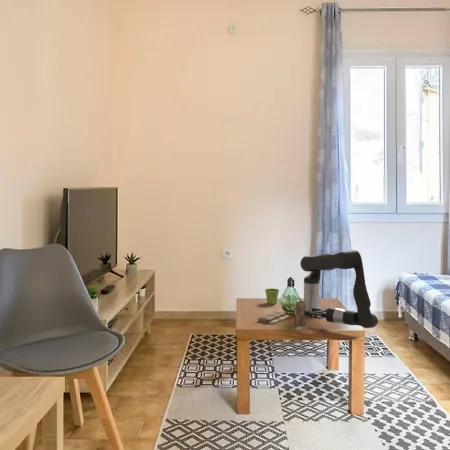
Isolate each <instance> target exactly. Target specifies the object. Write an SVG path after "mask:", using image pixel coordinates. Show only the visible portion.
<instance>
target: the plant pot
mask: <svg viewBox="0 0 450 450" xmlns="http://www.w3.org/2000/svg"><path fill="white" fill-rule="evenodd" d="M264 291H265V295H266V303H267V304H268V305H271V304H272V305H276V304H277V302H278V296H279V292H280V289H278V288H266V289H265V288H264Z"/></svg>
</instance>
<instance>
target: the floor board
mask: <svg viewBox="0 0 450 450" xmlns="http://www.w3.org/2000/svg"><path fill="white" fill-rule="evenodd" d="M289 318H290V315H287V314H286V313H285V312H280V311H273V312H270V313H268V314H264V315H262V316H260V317H258V318H257V322H258V323H263V324H264V323H265V324H269V325H270V324H271V325H274V324H276V323H279V322H281V321H284V320H286V319H289Z"/></svg>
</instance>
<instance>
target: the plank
mask: <svg viewBox="0 0 450 450" xmlns="http://www.w3.org/2000/svg"><path fill="white" fill-rule="evenodd" d="M306 303H307V302H304V300H300V301H297V302H295V324H296V325H295V326H301V327H303V326H305V325H306V324H307V316H306V315H304V311H306Z"/></svg>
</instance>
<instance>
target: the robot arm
mask: <svg viewBox="0 0 450 450" xmlns="http://www.w3.org/2000/svg"><path fill="white" fill-rule="evenodd" d="M361 255H362V254H361V253H360V252H359V250H357V249H351V250H344V251H340V252H337V253H330V252H328V253H323V254H318V255H306V256H303V257H302V258H301V259H300V268H301V269H302V270H303V271H304V272H307V273H308V272H311V273H310V274H308V275H306V276H305V277H304V278H303V301H304V302H307V303H306V311H304V315H306V317H307V316H308V317H309V318H310V319H317V320H322V319H325V320H326V322H328V323H333V324H341V325H346V326H347V325H349V326H360V327H362V328H364V329H372V328H375V327H376V326H377V325H378V323H379V320H378V317H377V316H376V314H374V313H372V312H371V307H372V306H371V305H372V303H371V300H370V296H369V291H368V289H367V285H366V284H367V283H366V278H365V270H364V264H363V259H362V256H361ZM336 269H340V270H350V269H354V274H355V279H354V280H355V281H354V284H353V289H352V294H353V299H354V303H355V305H356V311H354V310H350V309H349V310H348V309H344V308H343V309H342V308H338V307H327V308H325V307H321V294H320V281H321V276H322V275H321V271H333V270H336Z"/></svg>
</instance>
